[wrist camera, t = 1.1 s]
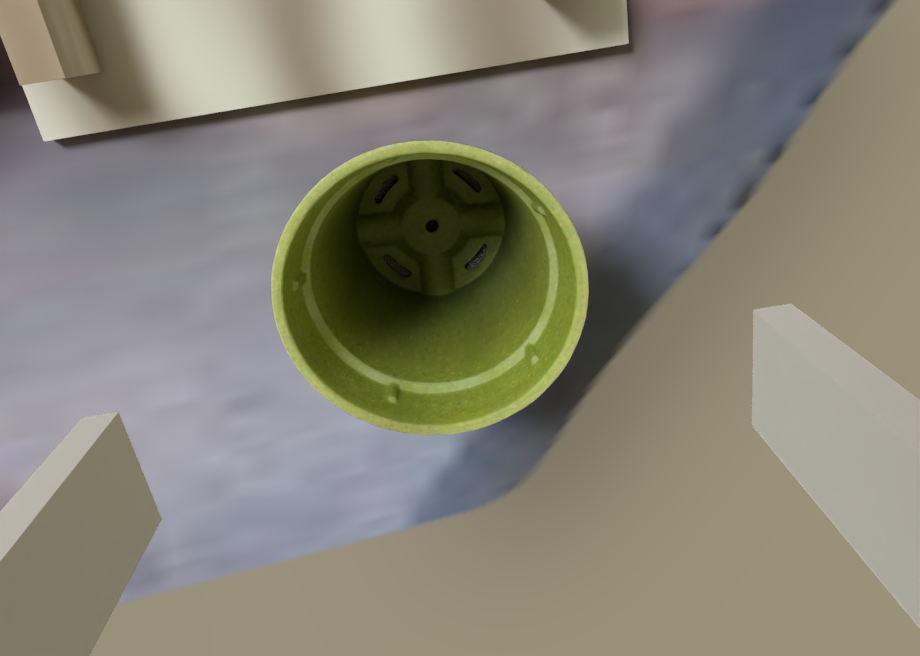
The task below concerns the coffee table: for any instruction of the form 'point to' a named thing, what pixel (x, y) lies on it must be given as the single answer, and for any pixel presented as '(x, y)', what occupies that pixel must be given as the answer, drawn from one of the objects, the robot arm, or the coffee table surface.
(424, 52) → the beige rectangular tray
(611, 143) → the coffee table surface
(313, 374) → the plant pot
